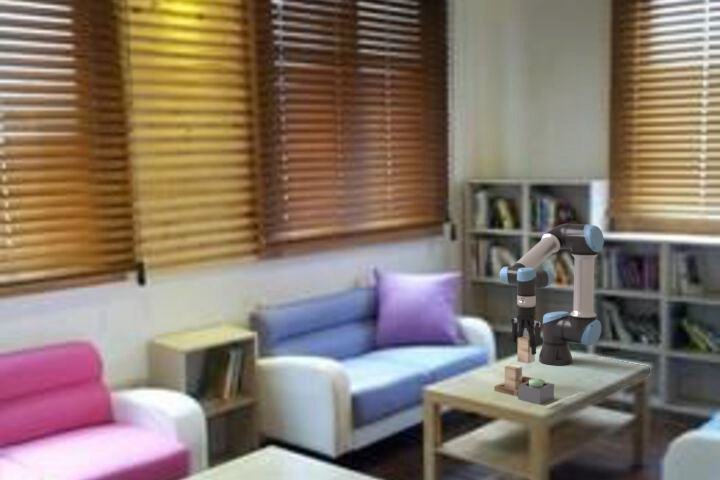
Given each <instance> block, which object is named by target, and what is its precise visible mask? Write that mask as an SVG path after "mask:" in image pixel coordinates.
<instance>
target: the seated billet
mask: <svg viewBox="0 0 720 480" xmlns="http://www.w3.org/2000/svg"><path fill="white" fill-rule="evenodd" d="M522 376H523V366H522V365H516V364H509V365H505V366H504V382H505V388H509V389H514V390H517V389H518V385H519V384H522Z"/></svg>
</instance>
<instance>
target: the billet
mask: <svg viewBox="0 0 720 480" xmlns="http://www.w3.org/2000/svg"><path fill="white" fill-rule="evenodd" d="M530 346H531V343H530V338H529V335H523V336H522V337H519V338H518V352H517V362H519V363H523V364H530V363H529V347H530ZM534 362H536V361H535V360H534Z"/></svg>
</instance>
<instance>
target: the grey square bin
mask: <svg viewBox="0 0 720 480" xmlns="http://www.w3.org/2000/svg"><path fill="white" fill-rule="evenodd" d="M554 398H555V384H554V383H550V382H543V387H540V388H536V387H531V386H529V381H527V382H524V383H522V384H519V385H518V396H517V400H520V401H522V402H527V403H532V404H536V405H539V406H540V405H543V404H545V403H547V402H550V401H552V400H554Z"/></svg>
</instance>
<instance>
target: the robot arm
mask: <svg viewBox="0 0 720 480" xmlns="http://www.w3.org/2000/svg"><path fill="white" fill-rule="evenodd" d="M604 242H605V239H604V234H603V231H602V230H601V228H600V227H599V226H597V225H593V224H588V223H587V224H585V223H583V224H581V223H562V224H559V225H557V226H555V227H553V228H551V229H550V230H548V231H547V232H546V233H544V234H543V235H542V237H540V241H539V242H537V243H536V244H535V245H534V246H533V247H532V248H531V249H529V251H528V252H526V253H525V254H524V255H523V256H522V257H520V259H519V260H517V261H516V262H515V263H514V264H512V266H503V267H502V268H501V269H500V272H499V280H500V282H501V283H502V284H504V285H510V286H511V285H512V286H517V288H516V290H517V291H516V292H517V293H516V294H517V295H516V298H517V299H516V305H517V306H516V314H517V316H516V317H513V318H511V319H510V321H511V342H512V343H515V346H516V347H515V351H516V353H518V338H519V337H522V336H524V332H525V329H526V331H527V333H528V336H529V338H530V343H531V346H530V347H529V363H528V364H531V363H534V362H535V361H534V360H535V358H536V354H537V347H539V346H541V342H542V346H541V349H540V352H539V354H538V362H539V363H542V364H544V365H551V366H566V365H570V364H572V363H573V355H572V352H571V349H570V346H569V343H574V344H578V345H579V344H580V345H586V346H592V345H594V344H596V342H598V340H599V339H600V336H601V334H602V323H601V321H600V320H599V319H597V314H596V312H594V287H595V286H594V285H595V284H594V282H595V280H594V279H595V258H597V256H598V255H599V252H601V251H602V249H603V248H604ZM564 249H565V250H570V254H571V256H572V257H573V258H574V262H573V263H574V267H573V269H574V270H573V303H572V304H573V305H572V306H573V310H572V311H571V312H570V313H569V312H568V311H563V310H562V311H552V312H547V313H545V314H543V317H542V321H538V320H537V319H536V313H537V311H536V309H537V308H536V305H537V302H536V301H537V297H536V296H537V295H536V292H537V290H539V289H543V288H544V289H545V288H547V287H549V286H551V284H552V283H553V281H554V277H553V276H554V275H553V273H552V272H551V271H550V270H548V269H546V268H544V269H543V268H540V269H536V268H538V267H539V266H540V265H541V264H542V263H543V262H544V261H545V260H546V259H547V258H549V257H550V256H551V255H552V254H554V253H557V252H559V250H560V251H561V250H564ZM541 329H542V330H541ZM541 331H542V334H541ZM541 335H542V339H541Z"/></svg>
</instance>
